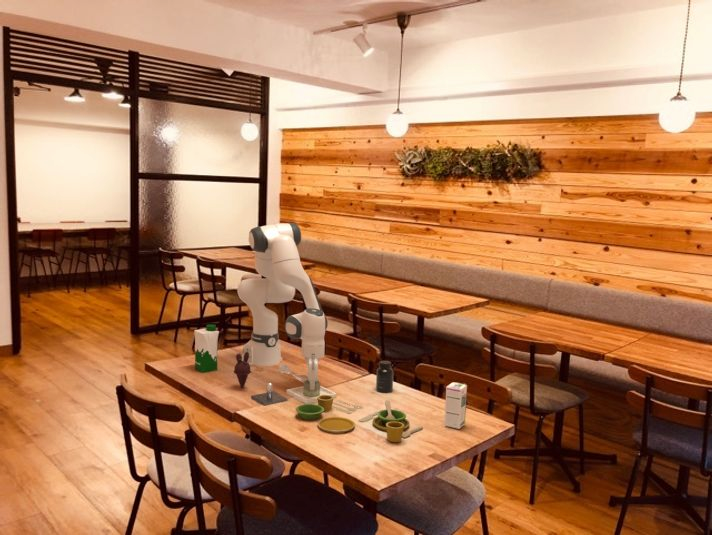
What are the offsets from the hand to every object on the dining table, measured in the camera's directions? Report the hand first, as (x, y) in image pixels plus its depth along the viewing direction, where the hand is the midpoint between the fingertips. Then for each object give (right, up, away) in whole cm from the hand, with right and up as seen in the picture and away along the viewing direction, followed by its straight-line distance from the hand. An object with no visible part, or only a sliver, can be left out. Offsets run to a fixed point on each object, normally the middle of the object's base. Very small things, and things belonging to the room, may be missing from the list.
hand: (311, 385), depth 235 cm
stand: (-16, -4, -6) cm, 17 cm away
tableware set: (+18, -9, -24) cm, 31 cm away
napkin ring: (0, -4, +1) cm, 4 cm away
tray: (0, -4, 0) cm, 4 cm away
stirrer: (-9, -2, +21) cm, 22 cm away
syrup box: (+52, -10, -23) cm, 58 cm away
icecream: (-28, -3, +5) cm, 29 cm away
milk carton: (-48, +1, +26) cm, 54 cm away
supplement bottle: (+29, -5, +11) cm, 31 cm away
